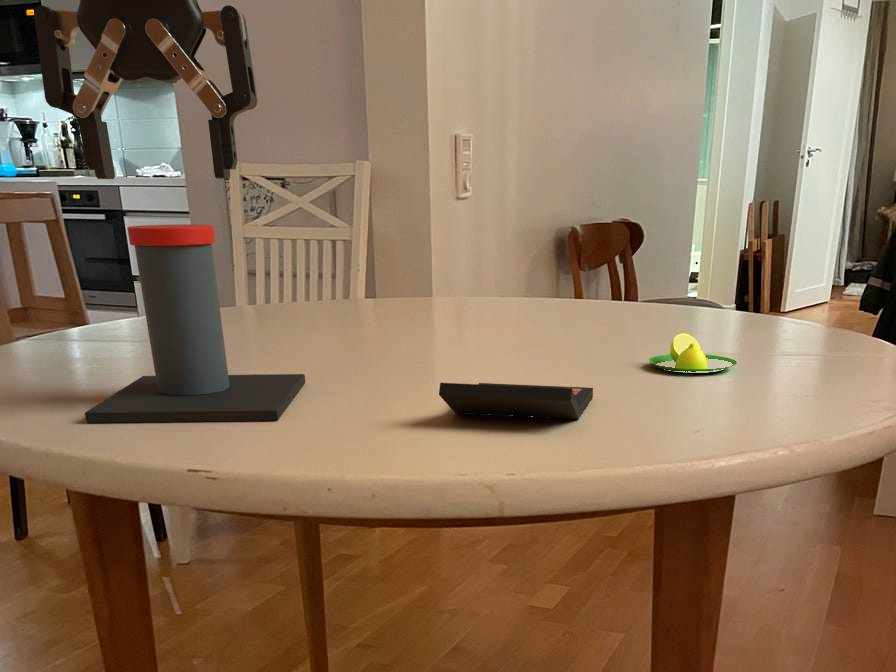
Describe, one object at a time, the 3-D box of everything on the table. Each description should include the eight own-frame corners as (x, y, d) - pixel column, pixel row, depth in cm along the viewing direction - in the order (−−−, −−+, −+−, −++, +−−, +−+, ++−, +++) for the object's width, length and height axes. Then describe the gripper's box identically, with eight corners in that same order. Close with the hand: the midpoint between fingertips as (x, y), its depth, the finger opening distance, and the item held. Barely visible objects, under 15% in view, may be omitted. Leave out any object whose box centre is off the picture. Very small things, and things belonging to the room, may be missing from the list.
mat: (86, 423, 67) (83, 412, 67) (144, 385, 80) (142, 375, 79) (278, 421, 67) (276, 410, 67) (305, 383, 80) (304, 373, 80)
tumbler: (144, 397, 71) (115, 228, 66) (166, 381, 77) (141, 224, 71) (224, 396, 71) (202, 227, 66) (240, 380, 77) (221, 224, 72)
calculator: (592, 398, 74) (594, 360, 72) (569, 433, 63) (571, 389, 62) (479, 393, 76) (479, 355, 74) (439, 426, 66) (438, 383, 64)
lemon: (631, 364, 87) (633, 333, 86) (701, 357, 90) (704, 327, 88) (681, 379, 80) (684, 345, 79) (754, 371, 83) (758, 339, 82)
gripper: (246, -84, 63) (271, 179, 71) (39, -85, 63) (84, 179, 70) (222, -115, 57) (251, 179, 64) (-11, -116, 56) (45, 179, 64)
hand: (164, 178), depth 67 cm, fingers open, 8 cm apart
